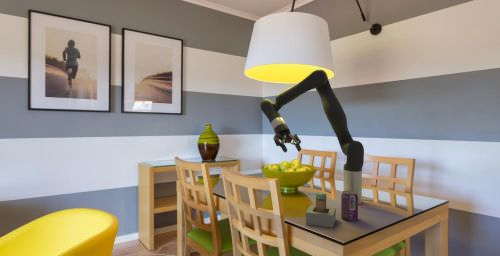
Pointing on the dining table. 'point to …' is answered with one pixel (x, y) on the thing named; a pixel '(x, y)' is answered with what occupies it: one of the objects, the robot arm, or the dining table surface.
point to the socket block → (321, 217)
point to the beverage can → (349, 205)
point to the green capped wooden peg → (321, 202)
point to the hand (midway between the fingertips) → (293, 151)
